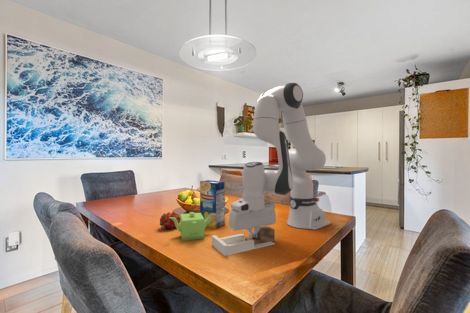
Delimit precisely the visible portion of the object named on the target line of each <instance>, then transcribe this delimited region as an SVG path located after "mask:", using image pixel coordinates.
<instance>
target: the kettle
mask: <svg viewBox="0 0 470 313" xmlns="http://www.w3.org/2000/svg"><path fill="white" fill-rule="evenodd" d="M179 217H180V222H179V223H178V221H177V219H176V218H175V217H170V219H172V220H173V221H174V223H175V226H176V227H175V228H176V229H177V231H178V232H180V236H181V241H182V242H183V241H184V242H186V241H192V240H193V241H194V240H202V239H203V240H204V239H205V231H206V230H205V229H206V227H208V226H207V225H208V223H209V221H210V220H211V217H208V218H207V219H206V220H205V221H204V218H203V216H202V214H201V213H200V212H193V211H191V212H189V213H180V214H179Z"/></svg>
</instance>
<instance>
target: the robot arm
mask: <svg viewBox="0 0 470 313" xmlns="http://www.w3.org/2000/svg"><path fill="white" fill-rule="evenodd" d="M303 97H304V92H303V89H302V87H301V86H300V85H299V84H298V83H296V82H288V83H286V84H282V85H278V86H274V88H270V89H269V90H266V91H264V92H262V93H261V94H260V95H259V97H258V99H257V101H256V104H255V106H254V111H253V112H254V113H253V123H252V131H253V134H254V135H255V136H256V138H258V140H261V141H263V142H265V143H268V144H270V145H272V146H274V148H275V149H276V153H277V161H278V162H277V163H278V169H266V168H265V166H264V164H263V162H260V161H249V162H247V163H244V166H243V169H242V170H243V171H242V181H241V182H242V184H241V186H242V188H243V191H242V197H241V198H239V199H237V200H235V201H233V202H231V203H230V208H231V210H230V211H229V215H228V216H229V217H228V227H229V228H230V229H231V230H232V231H234V232H236V231H243V230H246V231H247V232H248V237H249V238H250V239H253V238H257V234H258V232H259V230H260V227H264V226H270V225H275V223H276V222H277V217H276V216H277V215H276V209H275V207H276V205H275V203H274V202H273V201H272V200H269V201H265V200H266V199H265V198H266V195H265V193H270V194H277V195H281V196H286V195H287V194H289V193H290V196H289V205H290V206H289V212H288V218H287V222H286V224H287V225H289V226H290V227H292V228H296V229H306V230H319V229H321V228H323V227H324V228H325V227H326V226H328V225H331V221H329V220H328V219H327V218H326V212H325V211H324V209H322V208H321V207H320V206H318V204H316V202H317V203H319V201H320V198H319V197H316V196H315V197H314V181H313V180H312V179H311V178H310V177H309V175H308V174H307V171H310V172H311V171H318V170H321V169H323V168H324V166H325V164H326V162H327V157H326V154H325V152H324V151H323V150H322V149H320V148H319V147H318V146H317V145H316V143H315V142H314V141H313V139H312V137H311V134H310V131H309V126H308V123H307V117H306V114H305V109H304V106H303V104H302V102H303ZM279 112H281V115H282V123H283V128H284V132H283V131H282V130H281V128H280V113H279ZM288 142H290V143H291V145H292V146H293V148H289V146H288ZM254 228H255V230H254ZM252 231H253V232H252Z"/></svg>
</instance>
